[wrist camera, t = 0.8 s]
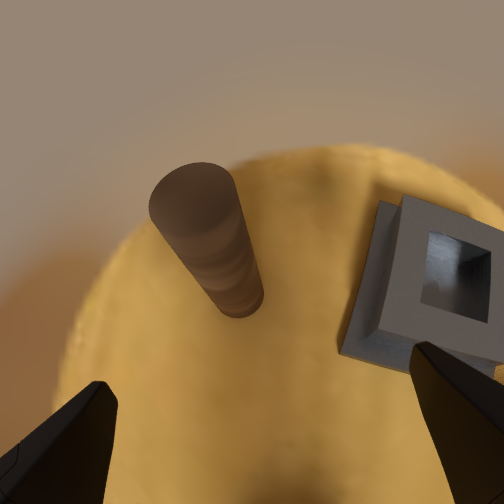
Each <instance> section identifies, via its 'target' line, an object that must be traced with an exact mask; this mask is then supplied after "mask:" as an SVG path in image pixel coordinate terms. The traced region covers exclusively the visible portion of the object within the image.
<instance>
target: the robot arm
mask: <svg viewBox="0 0 504 504" xmlns="http://www.w3.org/2000/svg"><path fill="white" fill-rule="evenodd" d="M409 372H410V375H411V378H412V381H413V384H414V388H415V391H416V394H417V398H418V401H419V405H420V408H421V411H422V414H423V417H424V420H425V422H426V425H427V427H428V430H429V432H430V435H431V437H432V440H433V442H434V445H435V447H436V450H437V453H438V455H439V458H440V461H441V463H442V466H443V469H444V472H445V475H446V478H447V480H448V483H449V486H450V489H451V492H452V495H453V499H454V502H455V504H504V385H502V384H501V383H499V382H497V381H495V380H494V379H492V378H490V377H489V376H487V375H485V374H484V373H482V372H480V371H478V370H477V369H475V368H473V367H472V366H470V365H468V364H467V363H465V362H463V361H461V360H460V359H458V358H456V357H454V356H453V355H451V354H449V353H448V352H446V351H444V350H442V349H441V348H439V347H437V346H436V345H434V344H432V343H430V342H428V341H423V342H419V343H416V344H414V346H413V348H412V353H411V357H410V362H409ZM117 409H118V401H117V398H116V396H115V395H114V393H113V392H112V390H111V389H110V387H109V386H108V384H107V383H106V382H104V381H93V382H91V383H90V384H89V385H88V386H87V387H85V388H84V389H83V390H82V391H81V392H79V393H78V394H77V395H76V396H75V397H73V398H72V399H71V400H70V401H68V402H67V403H66V404H65V405H64V406H62V407H61V408H60V409H59V410H58V411H56V412H55V413H54V414H53V415H52V416H50V417H49V418H48V419H47V420H46V421H45V422H43V423H42V424H41V425H40V426H38V427H37V428H36V429H35V430H34V431H32V432H31V433H30V434H29V435H28V436H26V437H25V438H24V439H23V440H22V441H20V443H18V444H17V445H16V446H14V447H13V448H12V449H11V450H9V451H8V452H7V453H6V454H4V455H3V456H2V457H1V458H0V504H103V500H104V493H105V487H106V482H107V476H108V471H109V465H110V460H111V455H112V450H113V444H114V436H115V426H116V417H117Z"/></svg>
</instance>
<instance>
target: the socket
mask: <svg viewBox="0 0 504 504" xmlns="http://www.w3.org/2000/svg"><path fill="white" fill-rule="evenodd" d="M423 341H428V342H430V343H432V344H434V345H436V346H437V347H439V348H441V349H442V350H444V351H446V352H448V353H449V354H451V355H453V356H454V357H456V358H458V359H460V360H461V361H463V362H465V363H467V364H468V365H470V366H472V367H473V368H475V369H477V370H478V371H480V372H482V373H484V374H485V375H487V376H489V377H490V378H492V379H493V377H494V372H495V366H499V365H502V364H504V232H503V231H501V230H499V229H496V228H494V227H492V226H489V225H487V224H484V223H482V222H480V221H477V220H475V219H472V218H469V217H467V216H464V215H462V214H459V213H457V212H454V211H451V210H448V209H446V208H443V207H440V206H437V205H435V204H432V203H429V202H426V201H423V200H420V199H417V198H414V197H411V196H408V195H405V194H404V195H403V197H402V199H401V201H400V204H399V206H397V205H394V204H391V203H387V202H384V201H381V200H380V201H379V204H378V207H377V212H376V217H375V222H374V227H373V231H372V236H371V241H370V245H369V249H368V253H367V258H366V262H365V266H364V270H363V274H362V278H361V281H360V285H359V289H358V292H357V296H356V300H355V303H354V307H353V310H352V314H351V317H350V320H349V324H348V327H347V330H346V333H345V336H344V339H343V343H342V346H341V349H340V352H339V354H340V355H343V356H346V357H350V358H353V359H356V360H360V361H363V362H367V363H370V364H374V365H377V366H381V367H384V368H388V369H392V370H395V371H399V372H403V373H407V374H410V372H409V362H410V357H411V353H412V348H413V346H414V344H416V343H419V342H423Z"/></svg>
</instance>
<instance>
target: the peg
mask: <svg viewBox="0 0 504 504" xmlns="http://www.w3.org/2000/svg"><path fill="white" fill-rule="evenodd" d="M149 214H150V217H151V220H152V221H153V223H154V224H155V226H156V227H157V229H158V230H159V231H160V233H161V234H162V235H163V237H164V238H165V240H166V241H167V242H168V244H169V245H170V246H171V248H172V249H173V250H174V252H175V253H176V254H177V256H178V257H179V258H180V260H181V261H182V262H183V264H184V265H185V266H186V268H187V269H188V270H189V271H190V273H191V274H192V275H193V277H194V278H195V279H196V281H197V282H198V283H199V284H200V286H201V287H202V288H203V290H204V291H205V292H206V293H207V295H208V296H209V297H210V298H211V300H212V301H213V302H214V303H215V305H216V306H217V307H218V308H219V310H220V311H221V312H222V313H223V314H225V315H227V316H229V317H232V318H244V317H247V316H249V315H251V314H253V313H254V312H255V311H256V310H257V309H258V308H259V307H260V305H261V303H262V301H263V296H264V291H263V286H262V283H261V279H260V275H259V272H258V268H257V264H256V260H255V257H254V253H253V249H252V246H251V242H250V238H249V235H248V231H247V227H246V224H245V220H244V216H243V212H242V209H241V205H240V201H239V198H238V194H237V190H236V187H235V183H234V180H233V178H232V176H231V175H230V174H229V173H228V171H226V170H225V169H224V168H222V167H220V166H218V165H216V164H212V163H204V162H201V163H192V164H188V165H184V166H182V167H179V168H177V169H175V170H174V171H172V172H170V173H169V174H168V175H166V176H165V177H164V178H163V179H162V180H161V181H160V182H159V183H158V185H157V186H156V187H155V189H154V190H153V192H152V195H151V197H150V201H149Z"/></svg>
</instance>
